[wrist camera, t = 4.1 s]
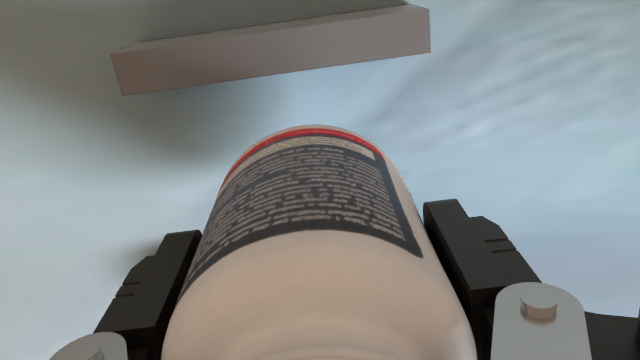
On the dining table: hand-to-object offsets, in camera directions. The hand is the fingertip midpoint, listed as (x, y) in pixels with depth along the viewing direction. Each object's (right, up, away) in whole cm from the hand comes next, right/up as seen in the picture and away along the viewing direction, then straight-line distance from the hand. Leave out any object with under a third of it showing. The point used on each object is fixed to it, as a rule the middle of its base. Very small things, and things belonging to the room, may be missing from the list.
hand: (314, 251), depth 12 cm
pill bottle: (0, +1, +2) cm, 2 cm away
